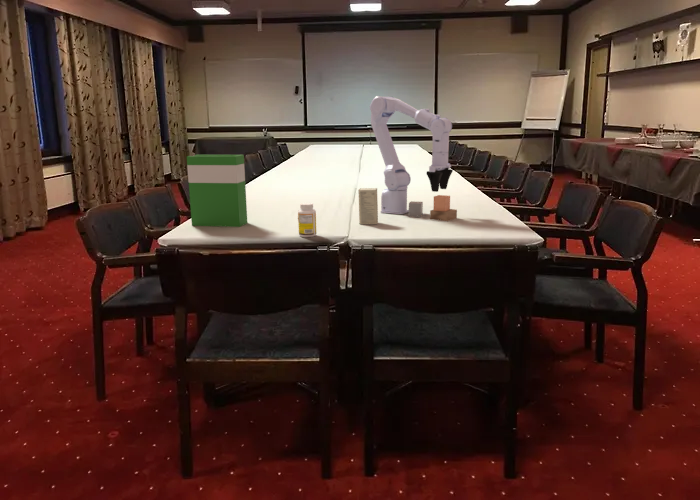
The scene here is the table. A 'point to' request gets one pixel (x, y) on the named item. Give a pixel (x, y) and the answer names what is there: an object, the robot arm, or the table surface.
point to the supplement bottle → (307, 220)
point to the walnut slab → (443, 215)
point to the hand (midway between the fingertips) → (439, 190)
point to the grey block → (415, 209)
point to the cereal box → (217, 190)
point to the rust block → (441, 203)
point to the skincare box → (368, 206)
